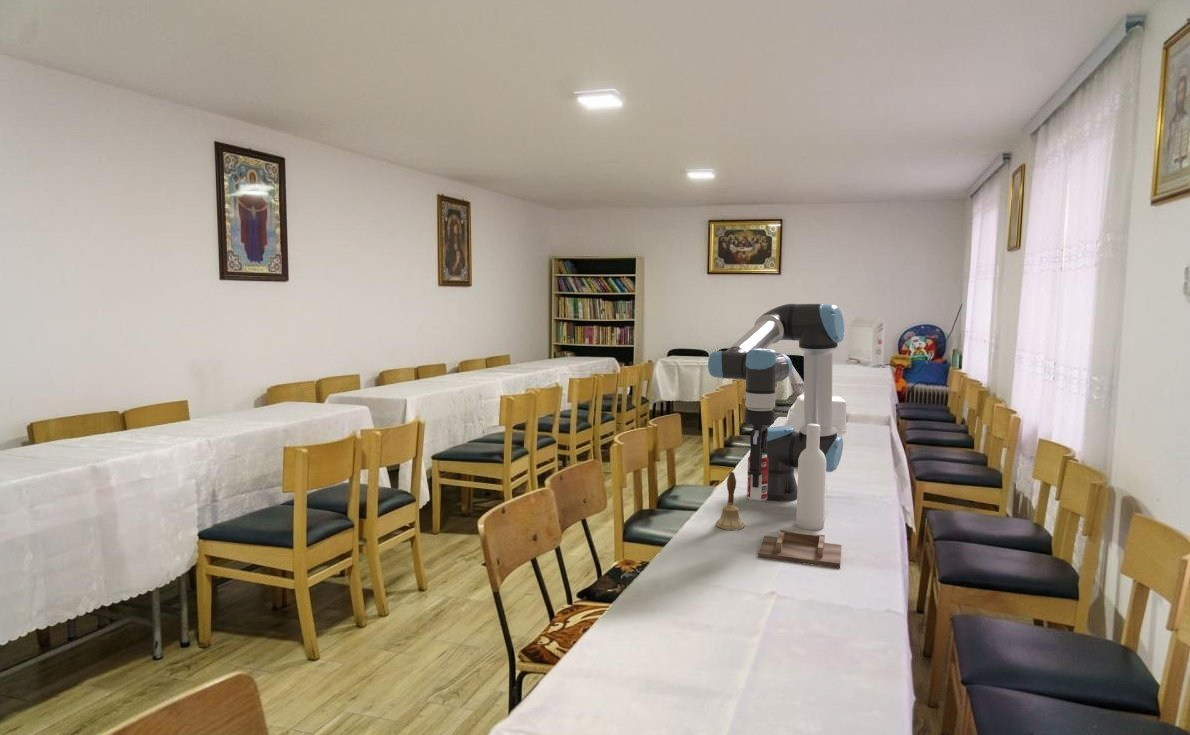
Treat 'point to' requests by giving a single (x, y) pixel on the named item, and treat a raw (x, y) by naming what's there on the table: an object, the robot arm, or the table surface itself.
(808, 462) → the bottle
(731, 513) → the hand bell
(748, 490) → the soda can
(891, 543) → the table surface
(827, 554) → the can rest
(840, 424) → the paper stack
